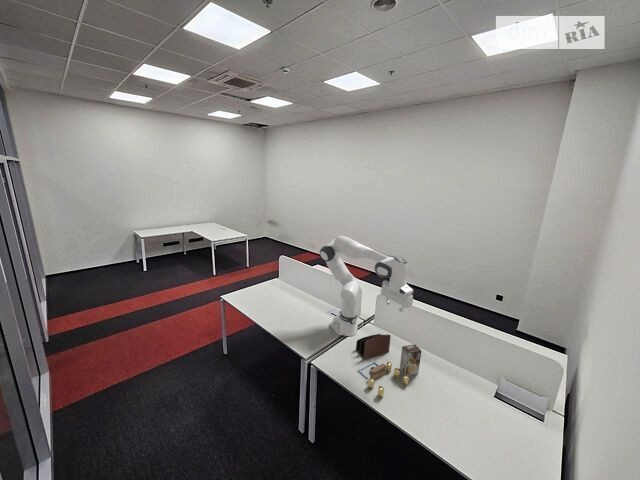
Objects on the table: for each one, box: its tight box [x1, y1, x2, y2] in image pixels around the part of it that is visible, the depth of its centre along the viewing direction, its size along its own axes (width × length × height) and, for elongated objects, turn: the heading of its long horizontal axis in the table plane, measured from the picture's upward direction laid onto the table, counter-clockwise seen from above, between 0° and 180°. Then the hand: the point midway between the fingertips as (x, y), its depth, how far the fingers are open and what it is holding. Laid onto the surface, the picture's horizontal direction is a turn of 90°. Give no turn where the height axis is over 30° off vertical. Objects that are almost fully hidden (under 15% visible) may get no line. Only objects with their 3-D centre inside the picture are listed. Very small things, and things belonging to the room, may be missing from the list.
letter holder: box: [355, 333, 391, 360], centre depth 173 cm, size 10×20×14 cm, turn 114°
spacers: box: [367, 361, 410, 400], centre depth 148 cm, size 15×21×5 cm
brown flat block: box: [369, 362, 387, 381], centre depth 153 cm, size 2×10×6 cm, turn 125°
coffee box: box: [399, 344, 422, 376], centre depth 156 cm, size 9×6×16 cm
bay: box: [357, 360, 380, 380], centre depth 158 cm, size 7×14×1 cm, turn 125°
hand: (394, 307), depth 153 cm, fingers open, 8 cm apart
